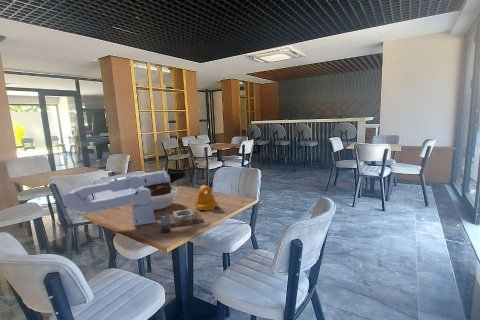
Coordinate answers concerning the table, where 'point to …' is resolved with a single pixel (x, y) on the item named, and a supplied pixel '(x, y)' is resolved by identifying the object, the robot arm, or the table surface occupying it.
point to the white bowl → (162, 194)
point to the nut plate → (185, 217)
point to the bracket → (205, 199)
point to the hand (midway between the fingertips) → (183, 172)
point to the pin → (165, 223)
